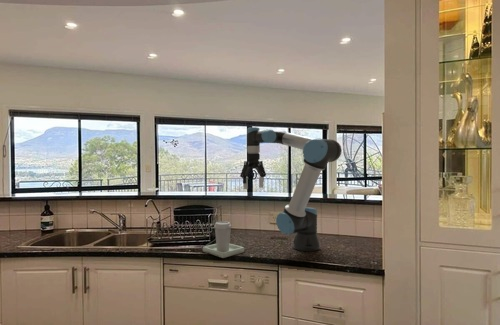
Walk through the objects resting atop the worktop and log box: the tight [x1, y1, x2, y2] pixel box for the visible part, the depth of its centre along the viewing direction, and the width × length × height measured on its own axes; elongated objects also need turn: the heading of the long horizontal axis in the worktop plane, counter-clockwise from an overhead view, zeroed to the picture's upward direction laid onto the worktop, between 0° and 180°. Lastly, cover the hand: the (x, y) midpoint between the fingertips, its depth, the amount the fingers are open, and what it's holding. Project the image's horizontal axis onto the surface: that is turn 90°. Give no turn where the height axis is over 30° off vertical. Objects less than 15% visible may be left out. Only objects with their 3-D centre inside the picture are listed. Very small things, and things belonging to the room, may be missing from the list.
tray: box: [202, 242, 245, 259], centre depth 176 cm, size 17×15×2 cm
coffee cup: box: [213, 221, 233, 252], centre depth 176 cm, size 10×10×15 cm
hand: (253, 188), depth 196 cm, fingers open, 13 cm apart
